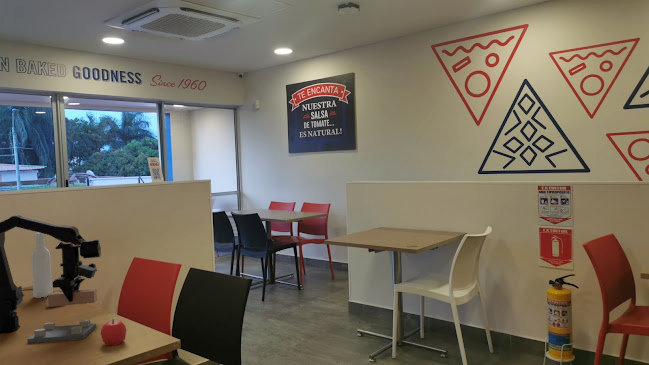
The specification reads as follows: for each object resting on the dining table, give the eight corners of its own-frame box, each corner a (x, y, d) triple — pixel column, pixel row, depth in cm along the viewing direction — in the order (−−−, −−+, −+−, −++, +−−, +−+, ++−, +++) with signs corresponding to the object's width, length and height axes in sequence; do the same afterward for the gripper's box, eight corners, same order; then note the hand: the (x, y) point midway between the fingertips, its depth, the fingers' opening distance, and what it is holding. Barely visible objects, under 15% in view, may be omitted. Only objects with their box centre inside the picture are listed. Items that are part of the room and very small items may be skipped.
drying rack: (27, 343, 158) (26, 333, 158) (44, 331, 170) (43, 321, 170) (83, 339, 160) (82, 329, 160) (96, 327, 172) (95, 318, 172)
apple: (117, 337, 161) (115, 314, 161) (132, 341, 157) (131, 317, 157) (95, 345, 154) (94, 321, 154) (110, 349, 150) (109, 324, 150)
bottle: (53, 296, 220) (49, 232, 219) (33, 299, 215) (29, 234, 214) (52, 292, 226) (49, 231, 225) (33, 295, 222) (29, 232, 221)
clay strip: (48, 306, 175) (47, 294, 175) (51, 304, 179) (51, 292, 178) (94, 302, 179) (93, 291, 178) (96, 300, 182) (96, 288, 182)
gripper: (83, 263, 170) (85, 305, 170) (101, 254, 188) (103, 292, 189) (50, 265, 168) (53, 308, 169) (72, 255, 187) (74, 294, 187)
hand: (72, 300), depth 179 cm, fingers closed on clay strip, 4 cm apart
